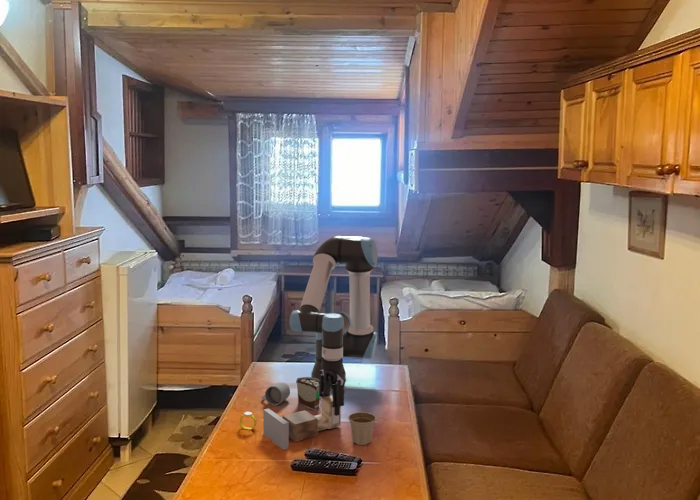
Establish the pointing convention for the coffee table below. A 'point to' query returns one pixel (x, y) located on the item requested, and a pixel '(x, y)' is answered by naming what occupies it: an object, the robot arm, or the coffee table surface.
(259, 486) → the coffee table surface
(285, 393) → the ceramic mug
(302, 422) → the block
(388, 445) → the coffee table surface
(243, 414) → the watch
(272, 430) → the wall
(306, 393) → the half-round slice
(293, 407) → the coffee table surface
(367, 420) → the flower pot
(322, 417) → the cream l-shaped piece
